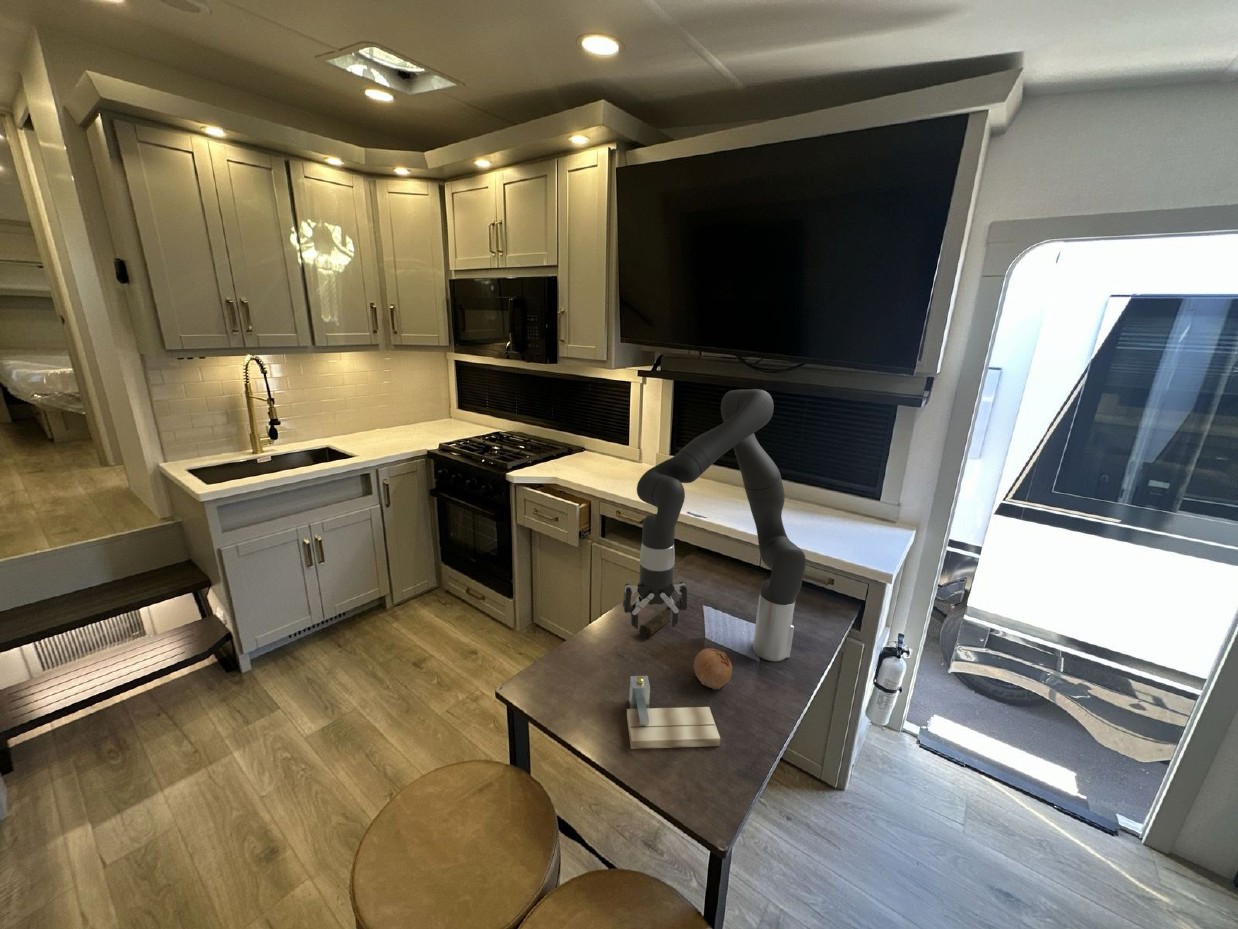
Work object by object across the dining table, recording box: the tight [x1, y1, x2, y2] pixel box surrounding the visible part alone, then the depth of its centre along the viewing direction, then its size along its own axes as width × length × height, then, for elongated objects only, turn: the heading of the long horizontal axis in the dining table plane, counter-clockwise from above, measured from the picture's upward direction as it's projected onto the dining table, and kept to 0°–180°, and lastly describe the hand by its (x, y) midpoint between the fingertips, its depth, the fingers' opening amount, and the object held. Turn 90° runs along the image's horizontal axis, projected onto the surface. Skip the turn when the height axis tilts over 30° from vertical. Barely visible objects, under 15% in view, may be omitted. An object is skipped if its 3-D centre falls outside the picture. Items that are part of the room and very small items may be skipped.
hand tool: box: [639, 600, 681, 639], centre depth 147 cm, size 19×4×5 cm, turn 138°
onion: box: [693, 647, 733, 691], centre depth 122 cm, size 10×9×10 cm
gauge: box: [628, 675, 651, 725], centre depth 110 cm, size 4×10×8 cm, turn 5°
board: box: [626, 706, 721, 750], centre depth 108 cm, size 19×9×2 cm, turn 95°
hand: (653, 625), depth 112 cm, fingers open, 8 cm apart
